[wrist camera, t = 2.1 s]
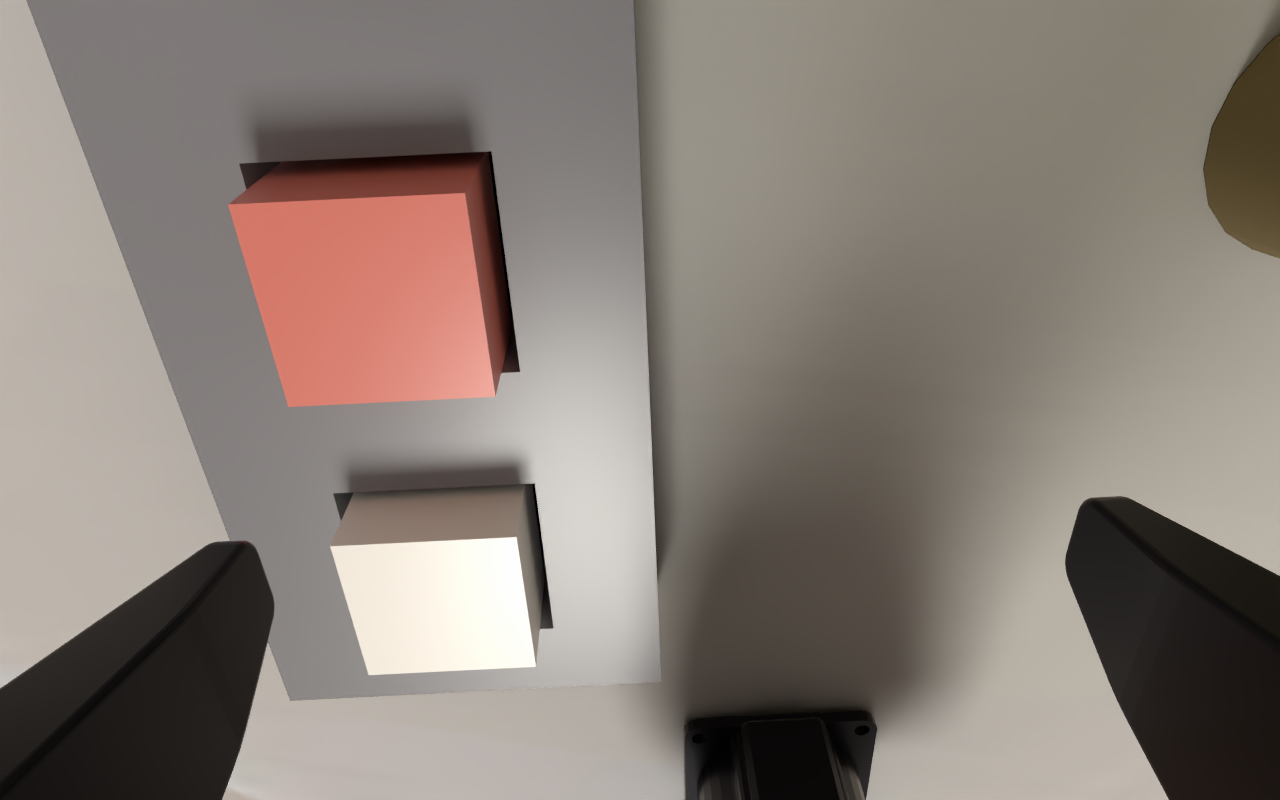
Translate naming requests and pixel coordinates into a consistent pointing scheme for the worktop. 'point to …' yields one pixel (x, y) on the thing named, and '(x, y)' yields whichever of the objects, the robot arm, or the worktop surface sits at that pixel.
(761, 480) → the worktop surface
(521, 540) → the button
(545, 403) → the button panel
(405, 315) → the red button
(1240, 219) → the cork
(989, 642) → the worktop surface
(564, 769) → the worktop surface
